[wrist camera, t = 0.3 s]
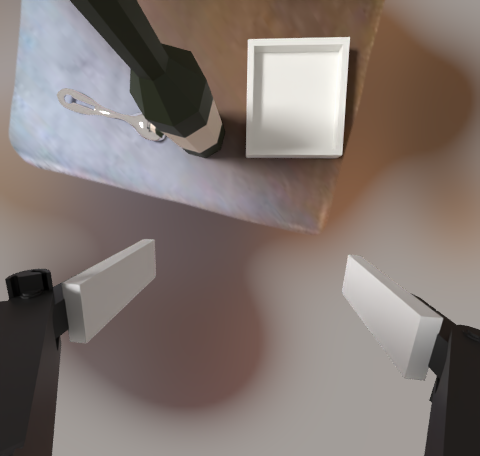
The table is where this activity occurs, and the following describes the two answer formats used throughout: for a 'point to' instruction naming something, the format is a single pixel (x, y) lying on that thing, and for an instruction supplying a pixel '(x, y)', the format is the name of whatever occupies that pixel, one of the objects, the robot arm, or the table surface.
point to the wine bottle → (159, 76)
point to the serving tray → (296, 97)
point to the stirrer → (111, 114)
